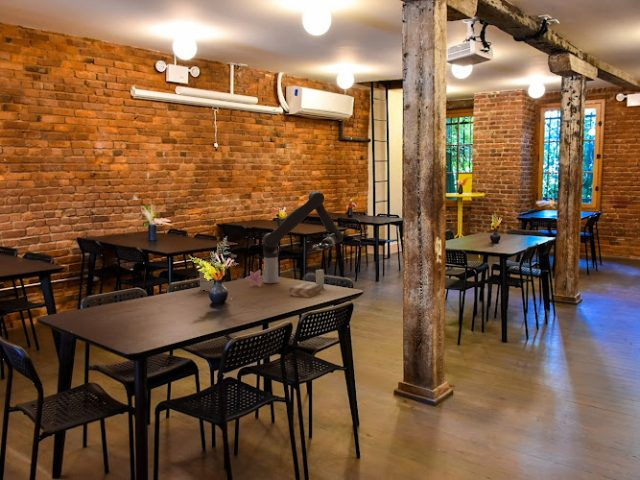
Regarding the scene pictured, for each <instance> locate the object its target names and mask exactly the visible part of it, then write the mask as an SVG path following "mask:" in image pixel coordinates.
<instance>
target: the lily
mask: <svg viewBox="0 0 640 480" xmlns="http://www.w3.org/2000/svg"><path fill="white" fill-rule="evenodd" d="M261 273H262V271H261V269H258V270H257V271H255V272H253V271H249V274H250V275H248V276H246V277H244V280H245V281H249V282H250V283H249V286H251V287H252V286H254V285H257V286H258V287H261V284H262V283H261V281H263V279H265V278H264V277H263V276H261Z"/></svg>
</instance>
